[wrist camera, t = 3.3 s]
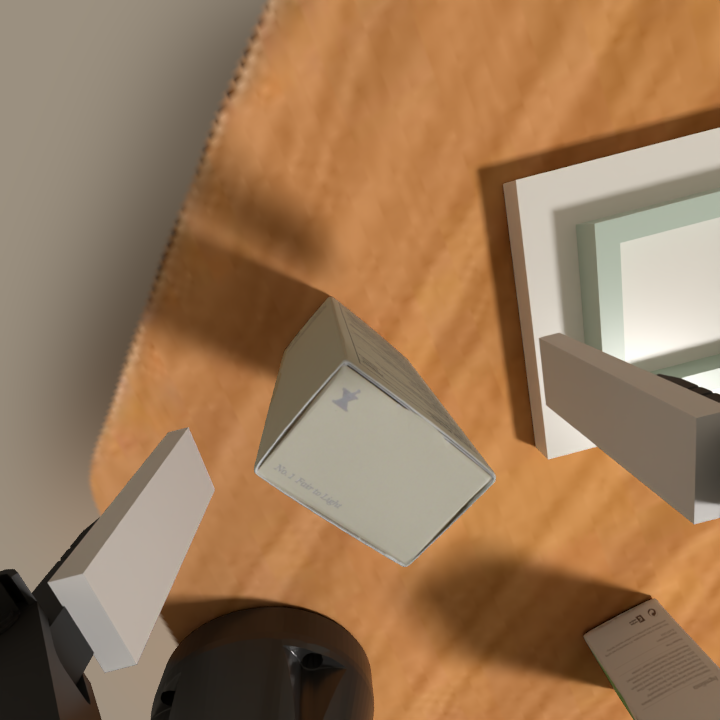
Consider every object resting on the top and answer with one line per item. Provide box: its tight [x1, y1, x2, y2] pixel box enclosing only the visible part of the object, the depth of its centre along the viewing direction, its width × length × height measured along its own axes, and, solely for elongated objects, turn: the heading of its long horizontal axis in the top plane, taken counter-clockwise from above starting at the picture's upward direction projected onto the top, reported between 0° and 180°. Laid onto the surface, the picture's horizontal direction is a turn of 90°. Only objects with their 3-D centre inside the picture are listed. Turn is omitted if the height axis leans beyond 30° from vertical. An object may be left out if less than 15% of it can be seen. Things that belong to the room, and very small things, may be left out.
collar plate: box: [503, 128, 720, 459], centre depth 22 cm, size 16×16×3 cm
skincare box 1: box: [254, 296, 496, 567], centre depth 17 cm, size 6×4×12 cm
